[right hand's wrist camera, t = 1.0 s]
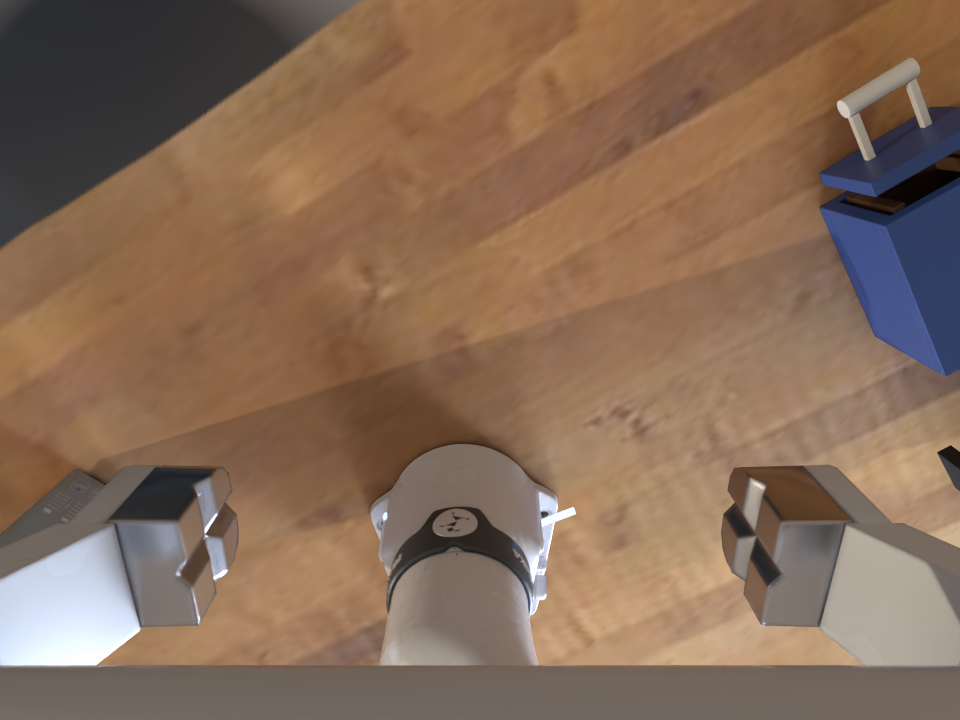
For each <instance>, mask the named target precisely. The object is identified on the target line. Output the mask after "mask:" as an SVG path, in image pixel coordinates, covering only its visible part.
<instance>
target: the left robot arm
mask: <svg viewBox="0 0 960 720" xmlns="http://www.w3.org/2000/svg"><path fill="white" fill-rule="evenodd" d="M937 453H938V455H939V457H940V459H941V461H942V463H943V465H944V467H945V469H946V471H947V473H948V475H949V476H950V478H951V480H952V482H953V484H954V486H955V488H957V489H958V490H959V491H960V452H959V451H958V450H956V449H955V448H954V447H952V446H951V445H950V446H949V447H947V448H945V449H943V450H941V451H939V452H937Z"/></svg>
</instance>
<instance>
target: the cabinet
mask: <svg viewBox="0 0 960 720" xmlns="http://www.w3.org/2000/svg"><path fill="white" fill-rule="evenodd" d="M852 193H853V192H851V191H846V192H845V193H843V194H841V195H840V196H838V197H836V198H834V199H833V200H831V201H829V202H827V203H826V204H824V205H822V206H820V207H819V208H820V210H821V213H822V215H823V217H824V220H825V222H826V224H827V226H828V229H829V231H830V233H831V236H832V238H833V240H834V243H835V245H836V247H837V249H838V252H839V254H840V256H841V259H842V261H843V263H844V266H845V268H846V270H847V272H848V275H849V277H850V279H851V282H852V284H853V286H854V289H855V291H856V293H857V295H858V298H859V300H860V302H861V305H862V307H863V309H864V312H865V314H866V316H867V318H868V321H869V323H870V325H871V328H872V330H873V332H874V335H875V336H876V337H877V338H879V339H881V340H882V341H884V342H886V343H888V344H889V345H891V346H893V347H894V348H896V349H898V350H900V351H901V352H903V353H905V354H907V355H908V356H910V357H912V358H914V359H915V360H917V361H919V362H920V363H922V364H924V365H926V366H927V367H929V368H931V369H933V370H934V371H937V372H938V373H940V374H942V375H943V376H948V375H950V374H952V373H954V372H956V371H958V370H960V177H959V178H957V179H956V180H954V181H952V182H950V183H948V184H947V185H945V186H943V187H941V188H940V189H938V190H936V191H934V192H932V193H931V194H929V195H927V196H925V197H923V198H922V199H920V200H918V201H916V202H915V203H913V204H911V205H909V206H907V207H906V208H904V209H902V210H900V211H899V212H897V213H895V214H893V215H891V216H889V215H885V214H882V213H878V212H874V211H870V210H866V209H862V208H859V207H855V206H851V205H849V203H848V201H847V199H846V197H847V196H848V195H850V194H852Z"/></svg>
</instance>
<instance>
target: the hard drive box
mask: <svg viewBox="0 0 960 720" xmlns="http://www.w3.org/2000/svg"><path fill="white" fill-rule="evenodd" d="M104 486H105V485H104V484H102V483H100V482H99V481H97V480H95V479H94V478H92V477H90V476H88V475H87V474H85V473H83V472H81V471H80V470H77V469H75V470H74V471H72V472H71V473H70V474H69V475H68V476H67V477H65V478H64V479H63V480H62V481H61V482H60V483H58V484H57V485H56V486H55V487H54V488H53V489H52V490H50V491H49V492H48V493H47V494H46V495H45V496H44V497H43V498H41V499H40V500H39V501H38V502H37V503H36V504H34V505H33V506H32V507H31V508H30V509H29V510H28V511H27V512H25V513H24V514H23V515H22V516H21V517H20V518H19V519H18V520H16V521H15V522H14V523H13V524H12V525H11V526H10V527H9V528H7V529H6V530H5V531H4V532H3V533H2V534H1V535H0V548H2V547H4V546H6V545H9V544H11V543H13V542H16V541H18V540H20V539H22V538H25V537H27V536H29V535H31V534H34V533H36V532H38V531H41V530H43V529H45V528H47V527H50V526H52V525H54V524H56V523H68V522H69V521H70V520H71V519H72V518H73V517H74V516H75V515H76V514H77V513H78V512H79V511H80V510H81V509H82V508H83V507H84V506H85V505H86V504H87V503H88V502H89V501H90V500H91V499H92V498H93V497H94V496H95V495H96V494H97V493H98V492H99V491H100V490H101V489H102V488H103V487H104Z"/></svg>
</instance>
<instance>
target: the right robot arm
mask: <svg viewBox="0 0 960 720" xmlns="http://www.w3.org/2000/svg"><path fill="white" fill-rule="evenodd" d="M231 492H232V486H231V481H230V476H229V472H228V471H227V470H226V469H225V468H224V467H219V466H168V465H163V466H160V465H132V466H126V467H123V468H122V469H121V470H120V471H119V472H118V473H117V474H116V475H115V476H114V477H113V478H112V479H111V480H110V481H109V482H108V483H107V484H106V485H105V486H104V487H103V488H102V489H101V490H100V491H99V492H98V493H97V494H96V495H95V496H94V497H93V498H92V499H91V500H90V501H89V502H88V503H87V504H86V505H85V506H84V507H83V508H82V509H81V510H80V511H79V512H78V513H77V514H76V515H75V516H74V517H73V518H72V519H71V520H70V521H69V522H68V523H56V524H54V525H52V526H50V527H47V528H45V529H43V530H41V531H38V532H36V533H34V534H31V535H29V536H27V537H25V538H22V539H20V540H18V541H16V542H13V543H11V544H9V545H6V546H4V547H2V548H0V720H960V548H958V547H956V546H953V545H951V544H949V543H947V542H944V541H942V540H940V539H938V538H935V537H933V536H931V535H928V534H926V533H924V532H922V531H919V530H917V529H915V528H913V527H910V526H908V525H906V524H904V523H892V522H891V521H890V520H889V519H888V518H887V517H886V516H885V515H884V514H883V513H882V512H881V511H880V510H879V509H878V508H877V507H876V506H875V505H874V504H873V503H872V502H871V501H870V500H869V499H868V498H867V497H866V496H865V495H864V494H863V493H862V492H861V491H860V490H859V489H858V488H857V487H856V486H855V485H854V484H853V483H852V482H851V481H850V480H849V479H848V478H847V477H846V476H845V475H844V474H843V473H842V472H841V471H840V470H839V469H838V468H836V467H834V466H831V465H808V466H770V467H738V468H734V470H733V472H732V474H731V476H730V480H729V485H728V492H729V493H730V495H731V497H732V498H733V500H734V501H735V503H734V504H733V505H732V506H731V507H730V508H729V509H728V510H727V511H726V512H725V513H724V515H723V522H722V530H721V535H722V546H723V551H724V555H725V558H726V561H727V563H728V565H729V567H730V569H731V571H732V573H734V574H735V575H737V576H738V577H740V578H741V579H743V580H744V581H746V582H745V587H744V595H745V597H746V599H747V600H748V602H749V604H750V606H751V608H752V610H753V611H754V613H755V615H756V617H757V619H758V620H759V622H760V624H761V625H762V626H798V627H820V628H819V630H820V631H822V632H823V633H824V634H825V635H827V636H828V637H829V638H831V639H832V640H833V641H834V642H836V643H837V644H838V645H840V646H841V647H842V648H843V649H845V650H846V651H847V652H848V653H850V654H851V655H852V656H854V657H855V658H856V659H857V660H859V661H860V662H861V663H863V664H864V665H538V663H537V658H536V654H535V649H534V644H533V639H532V633H531V627H530V617H531V615H532V614H533V613H534V612H535V611H536V609H537V605H538V600H543V599H545V598H546V592H547V579H546V576H544V571H546V564H547V557H548V552H549V547H550V542H551V537H552V532H553V527H554V522H555V521H558V520H560V519H563V518H566V517H568V516H571V515H574V514H575V510H574V508H570V509H568V510H565V511H562V512H560V513H557V508H558V500H557V496H556V495H555V494H554V493H553V492H552V491H550V490H549V489H547V488H545V487H543V486H541V485H539V484H537V483H535V482H533V481H532V480H531V479H530V478H529V477H528V476H527V475H526V474H525V472H524V471H523V470H522V469H521V468H520V467H519V466H518V465H517V464H516V463H515V462H514V461H513V460H511V459H510V458H509V457H507V456H505V455H504V454H502V453H500V452H498V451H496V450H493V449H491V448H487V447H484V446H479V445H473V444H454V445H447V446H443V447H439V448H436V449H433V450H431V451H429V452H426V453H425V454H423V455H421V456H420V457H418V458H417V459H415V460H414V461H413V462H412V463H411V464H409V465H408V467H407V468H406V469H405V470H404V471H403V473H402V474H401V475H400V477H399V479H398V480H397V482H396V484H395V485H394V487H393V488H392V489H391V490H390V491H389V492H387V493H386V494H384V495H383V496H381V497H380V498H378V499H377V500H376V501H375V502H374V503H373V504H372V506H371V510H370V517H371V520H372V523H373V525H374V528H375V530H376V533H377V535H378V538H379V540H380V545H379V560H380V561H383V564H384V567H385V570H386V572H387V574H388V576H389V578H388V583H387V611H388V615H389V616H388V621H387V627H386V632H385V638H384V643H383V648H382V654H381V659H380V665H96V664H98V663H99V662H100V661H102V660H103V659H104V658H105V657H107V656H108V655H109V654H110V653H112V652H113V651H114V650H116V649H117V648H118V647H119V646H121V645H122V644H123V643H125V642H126V641H127V640H128V639H130V638H131V637H132V636H134V635H135V634H136V633H137V632H139V631H140V627H161V626H197V625H199V624H200V622H201V620H202V619H203V617H204V615H205V613H206V611H207V610H208V608H209V606H210V604H211V602H212V600H213V599H214V597H215V595H216V587H215V582H214V581H216V580H217V579H219V578H220V577H222V576H223V575H225V574H226V573H228V571H229V569H230V567H231V565H232V563H233V561H234V559H235V554H236V550H237V546H238V521H237V515H236V513H235V512H234V511H233V510H232V509H231V508H230V507H229V506H228V505H227V504H226V503H225V501H226V500H227V498H228V497H229V495H230V494H231ZM543 511H546V512H547V513H546V514H541V512H543ZM556 513H557V514H556Z"/></svg>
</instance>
